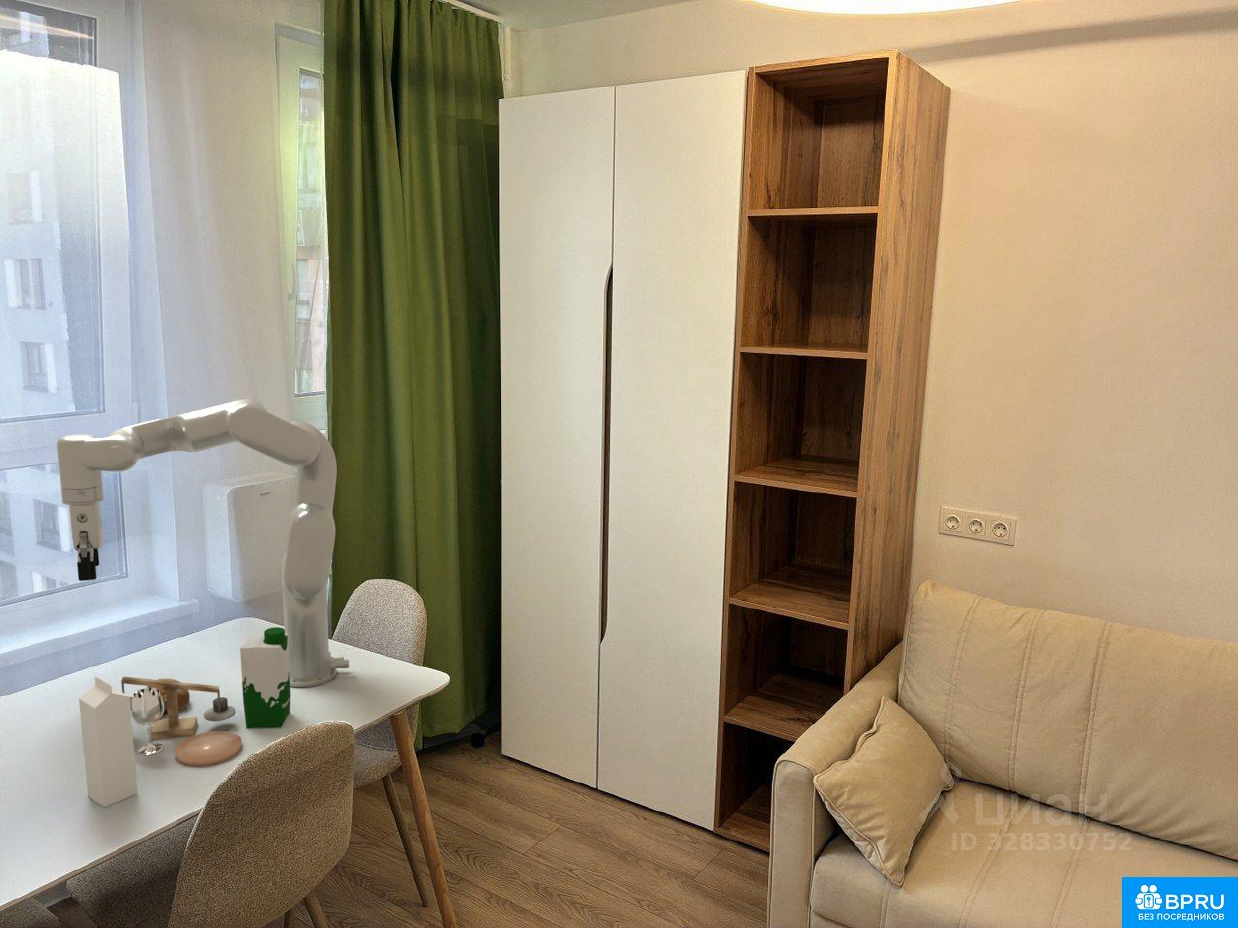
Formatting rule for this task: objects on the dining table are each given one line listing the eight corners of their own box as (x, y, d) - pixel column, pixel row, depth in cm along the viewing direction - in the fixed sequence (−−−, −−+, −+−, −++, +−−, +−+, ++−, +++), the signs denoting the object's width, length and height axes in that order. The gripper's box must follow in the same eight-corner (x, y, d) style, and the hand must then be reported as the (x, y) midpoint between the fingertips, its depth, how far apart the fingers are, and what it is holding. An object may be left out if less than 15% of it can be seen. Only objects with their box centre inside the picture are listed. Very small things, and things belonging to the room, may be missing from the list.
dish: (245, 733, 191) (244, 727, 191) (238, 762, 180) (237, 756, 180) (181, 739, 188) (181, 733, 188) (170, 769, 177) (169, 763, 177)
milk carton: (284, 729, 193) (280, 638, 189) (239, 730, 192) (234, 639, 188) (295, 710, 202) (291, 622, 198) (252, 711, 201) (247, 623, 197)
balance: (237, 718, 197) (234, 663, 195) (234, 732, 192) (230, 675, 189) (114, 730, 191) (109, 672, 189) (106, 744, 185) (101, 685, 183)
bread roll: (195, 720, 204) (204, 683, 206) (160, 720, 194) (170, 681, 196) (159, 712, 207) (169, 676, 209) (123, 711, 197) (134, 673, 199)
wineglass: (173, 743, 186) (169, 687, 184) (156, 757, 181) (151, 700, 178) (145, 741, 187) (141, 685, 185) (128, 755, 181) (123, 698, 179)
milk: (121, 782, 172) (112, 670, 168) (138, 793, 169) (129, 679, 164) (86, 796, 167) (76, 680, 163) (103, 808, 164) (93, 690, 160)
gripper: (100, 502, 188) (107, 583, 192) (105, 484, 204) (111, 559, 207) (57, 505, 185) (65, 587, 189) (65, 486, 200) (72, 563, 204)
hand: (89, 572), depth 198 cm, fingers open, 9 cm apart
